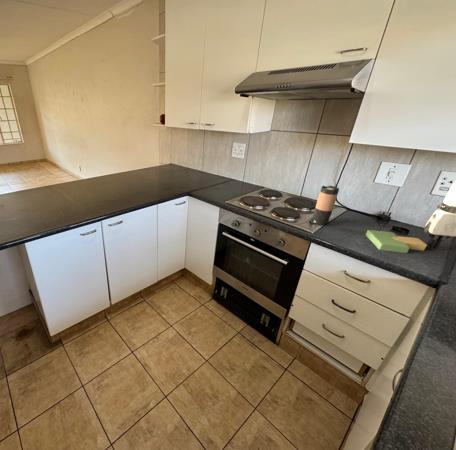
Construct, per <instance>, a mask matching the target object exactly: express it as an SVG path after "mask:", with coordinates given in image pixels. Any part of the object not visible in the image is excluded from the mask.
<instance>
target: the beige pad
mask: <svg viewBox="0 0 456 450" xmlns="http://www.w3.org/2000/svg"><path fill="white" fill-rule="evenodd" d="M397 236H398V237H392V238H393V239H394V240H395V241H402V242H404V243H406V244H407V245H408V246H409V247H410V248H409V250H414V251H423V252H424V251H425V249H426V247H427V246H428V245H427V244H426V243H425V241H423V240H421V239H420V238H419V237H411V236H409V237H408V236H400V235H397Z"/></svg>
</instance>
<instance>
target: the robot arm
mask: <svg viewBox="0 0 456 450" xmlns="http://www.w3.org/2000/svg"><path fill="white" fill-rule="evenodd" d="M436 208H437V209H436V210H435V211H434V212H433V213H432V215H430V217H429V219H428V220H427V222H426V223H425V226H424V230H423V231H422V233H423V234H424V235H426V236H428V237H429V240H428V242H427V244H426V245H427V246H428V247H429V248H430V249H434V250H435V249H438V247H439V246H440V245H441V243H442V242H444V241H446V239H450V238H455V237H456V179H455V180H454V181H453V183H452V184H451V185H450V188H449V190H448V192H447V194H446V195H445V197H444V199H443V201H442V202H441V204H438V205H437V206H436Z"/></svg>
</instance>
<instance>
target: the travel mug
mask: <svg viewBox="0 0 456 450" xmlns="http://www.w3.org/2000/svg"><path fill="white" fill-rule="evenodd" d="M339 191H340V188H339V187H338V186H334V185H328V186H325V185H322V186H321V188H320V191H319V195H318V198H317V201H316V204H315V207H314V211H313V216H312V219H314V220H315V221H316V223H317V224H319V225H324V226H323V227H325V225H326V226H327V225H328V223H329V221H330V218H331V215H332V213H333V211H334V207H335V203H336V200H337V198H338V195H339ZM319 225H318V226H319Z"/></svg>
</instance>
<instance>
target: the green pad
mask: <svg viewBox="0 0 456 450" xmlns="http://www.w3.org/2000/svg"><path fill="white" fill-rule="evenodd" d="M365 236H366V237H367V239H369V240H370V241H371V242H372V244H373V245H374V246H375V247H376V248H377V249H378V250H379V251H385V252H386V251H387V252H392V253H401V254H402V253H403V254H408V252H409V250H410V249H409V248H410V247H409V246H408V245H407V244H406V243H404V242H402V241H395V240H394V239H393V238H392V237H398V236H399V235H396V233H394V232H393V231H386V230H385V231H384V230H374V229H367V231H366V233H365Z"/></svg>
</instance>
